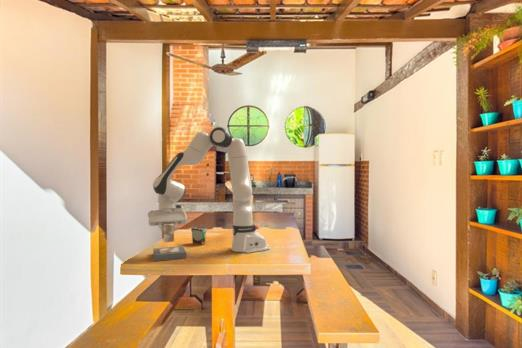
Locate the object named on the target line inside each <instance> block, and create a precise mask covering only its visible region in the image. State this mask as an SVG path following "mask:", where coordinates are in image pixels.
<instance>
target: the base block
mask: <svg viewBox="0 0 522 348" xmlns="http://www.w3.org/2000/svg"><path fill="white" fill-rule="evenodd" d="M152 251H153V260H154V262H161V261H169V260H179V259H186V258H187V251H186V250H185V247H184V246H183V245H178V246H167V247H157V248H156V247H155V248H153V250H152Z"/></svg>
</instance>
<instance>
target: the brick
mask: <svg viewBox="0 0 522 348" xmlns="http://www.w3.org/2000/svg"><path fill="white" fill-rule="evenodd" d="M162 226H163V227H164V231H163V242H164V243H170V242H172V243H174V242H175V230H174V226H175V224H173V223H170V224H163V225H162Z"/></svg>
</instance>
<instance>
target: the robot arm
mask: <svg viewBox="0 0 522 348" xmlns="http://www.w3.org/2000/svg"><path fill="white" fill-rule="evenodd" d="M213 147H214V148H218V149H225V150H226V153H227V159H228V160H227V161H228V167H229V173H230V174H229V177H230V184H231V190H232V216H233V217H232V219H233V222H232V223H233V224H232V242H231V243H232V244H231V247H230V250H231V252H237V253H245V254H250V253H256V252H261V251H268V250H271V246H270V245H269V244H268V243H267V241H266V238H265V237H264V235H262V234H261V233H260V232H258V231H257V230H258V229H259V228H260V227H259V226H258V225H255V224H253V198H252V197H253V196H252V195H253V185H252V179H251V171H250V166H249V159H248V152H247V147H246V145H245V142H244V140H243V139H241V138H239V137H233V136H232V135H231V134H230V132H229V131H228V130H227V129H226V128H224V127H221V126H217V127H214V128H213V129H212V130H211V131H210V133H207V132H205V131H198V132H197V133H196V134H195V135H194V137H193V138H192V139H191V141H190V143H188V146H187V147H186V148H185V149H184V150H183V151H181V152H179V153H177V154H176V155H174V157H173V158H172V160H171V161H170V162H169V163H168V165H167V166H166V167H165V169H164V170H162V172H161V173H160V174H159V175H158V177H156V178H155V180H154V181H153V184H152V187H153V190H154V192H155V193H156V194H158V195H157V198H158V203H159V204H158V209H157V210H150V211H148V212H147V217H148V225H149V226H150V227H155V226H158V228H159V229H160V232H164V225H163V224H170V223H173V224H174V231H177V227H178V225H185V224H187V222H188V217H187V213H186V211H185V210H184V206H183V205H181V204H177V202H179V201H181V200H183V199H184V197H185V196H186V185H184V184H183V183H181V182H178V181H176V180H174V179H171V177H172V176H173V175H174V173H175V172H176V171H177V169H178V168H180V167H181V166H196V165H200V164H201V163H202V162H204V160H205V157H206V155H207V153H208V152H209V150H210V149H211V148H213Z"/></svg>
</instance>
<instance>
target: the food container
mask: <svg viewBox="0 0 522 348" xmlns="http://www.w3.org/2000/svg"><path fill="white" fill-rule="evenodd" d="M207 229H208V228H207V227H205V226H191V228H190V231H191V239H192V244H193V245H198V246H205V245H206V235H207V234H206V233H207V232H208V230H207Z"/></svg>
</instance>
